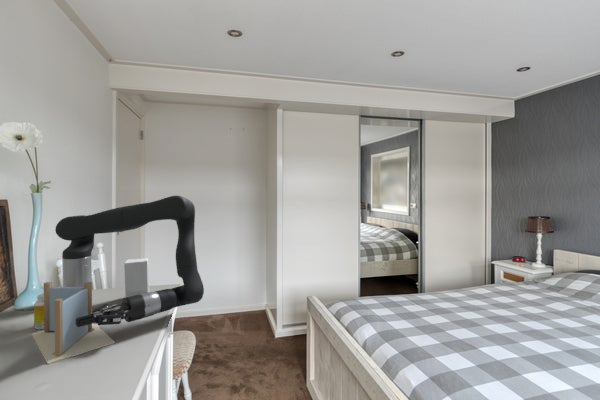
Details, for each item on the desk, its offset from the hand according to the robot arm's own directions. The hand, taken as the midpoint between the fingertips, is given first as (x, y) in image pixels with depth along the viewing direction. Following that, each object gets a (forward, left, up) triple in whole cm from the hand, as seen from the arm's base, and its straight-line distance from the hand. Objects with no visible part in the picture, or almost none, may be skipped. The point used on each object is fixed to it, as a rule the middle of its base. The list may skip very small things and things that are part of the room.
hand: (76, 322), depth 86 cm
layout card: (-7, 0, -7) cm, 10 cm away
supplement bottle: (-23, -3, -7) cm, 24 cm away
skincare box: (-29, +27, -7) cm, 40 cm away
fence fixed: (-13, +1, -7) cm, 15 cm away
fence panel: (-3, 0, -6) cm, 7 cm away
